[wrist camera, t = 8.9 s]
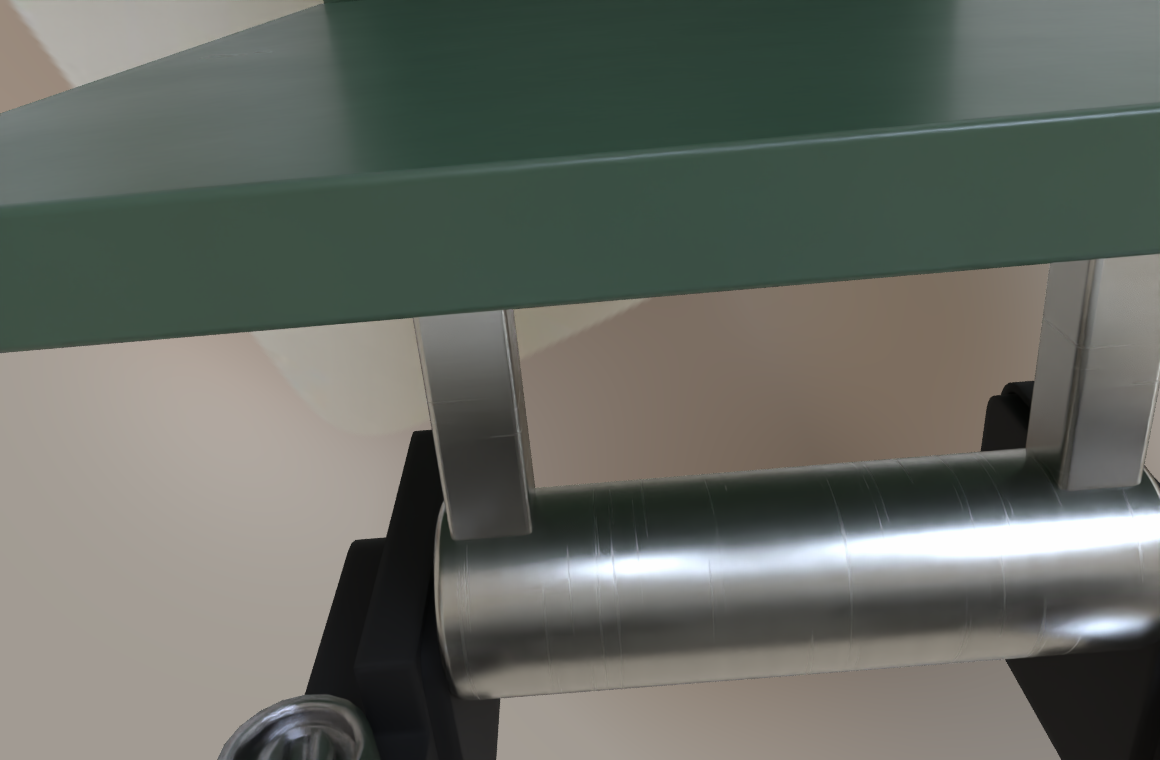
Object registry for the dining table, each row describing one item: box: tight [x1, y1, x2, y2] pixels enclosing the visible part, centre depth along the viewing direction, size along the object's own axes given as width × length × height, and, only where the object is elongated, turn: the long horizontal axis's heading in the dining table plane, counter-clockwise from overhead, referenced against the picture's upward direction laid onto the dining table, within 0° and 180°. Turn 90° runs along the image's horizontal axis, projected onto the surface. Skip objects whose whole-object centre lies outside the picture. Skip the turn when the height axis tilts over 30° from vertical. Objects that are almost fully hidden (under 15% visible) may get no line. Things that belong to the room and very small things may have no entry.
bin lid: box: [0, 0, 1160, 701], centre depth 13 cm, size 16×13×5 cm
